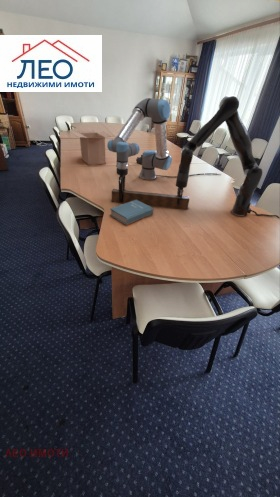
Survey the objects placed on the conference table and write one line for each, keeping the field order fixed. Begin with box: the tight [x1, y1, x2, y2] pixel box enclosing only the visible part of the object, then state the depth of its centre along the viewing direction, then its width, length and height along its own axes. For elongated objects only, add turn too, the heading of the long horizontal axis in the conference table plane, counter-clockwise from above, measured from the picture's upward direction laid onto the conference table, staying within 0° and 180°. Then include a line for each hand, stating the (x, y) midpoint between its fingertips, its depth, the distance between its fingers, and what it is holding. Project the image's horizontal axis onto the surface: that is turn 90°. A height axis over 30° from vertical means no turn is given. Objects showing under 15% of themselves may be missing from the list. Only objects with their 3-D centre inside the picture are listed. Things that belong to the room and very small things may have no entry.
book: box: [109, 200, 154, 226], centre depth 142 cm, size 23×16×5 cm
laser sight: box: [135, 154, 143, 165], centre depth 237 cm, size 10×22×10 cm, turn 78°
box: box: [70, 129, 114, 166], centre depth 229 cm, size 44×36×27 cm
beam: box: [111, 188, 190, 210], centre depth 157 cm, size 54×4×8 cm, turn 84°
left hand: (121, 200), depth 160 cm, fingers closed on beam, 4 cm apart
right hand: (178, 202), depth 156 cm, fingers closed on beam, 4 cm apart
